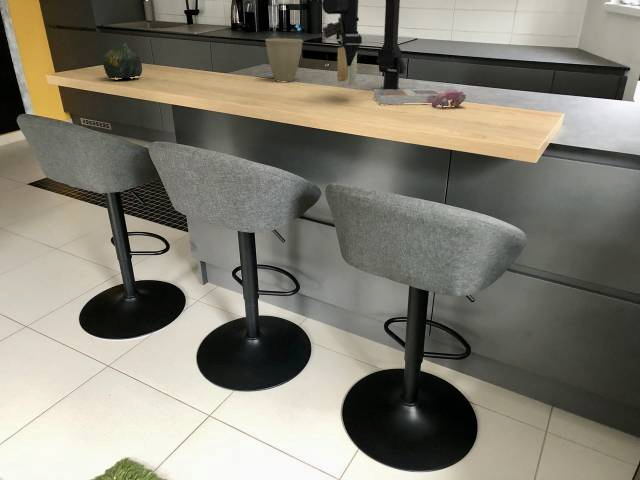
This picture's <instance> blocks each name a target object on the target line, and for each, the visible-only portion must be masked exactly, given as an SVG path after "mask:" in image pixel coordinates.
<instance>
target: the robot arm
mask: <svg viewBox="0 0 640 480" xmlns="http://www.w3.org/2000/svg"><path fill="white" fill-rule="evenodd" d="M400 2H401V0H385V9H384V10H385V12H384V31H383V34H384V35H383V45H382V47H381V48H379V49H378V50H377V59H376V60H377V63H378V71H379V73H384V74H383V86H380V89H401V88H400V87H399V83H400V75H403V74H405V73H406V68H407V67H406V65H405V63H404V61H403V58H402V50H401V48H400V46H399V44H398V41H399V40H398V38H399V23H400V22H399V19H400V4H401V3H400ZM321 4H322V10H323V11H324V12H325V14H327V15H339V17H338V18H337V22H334V23H333V22H330V23H327V24H326V25H325V26H323V27H322V29H321V30H322V32H323V36H324V38H325V39H329V38H331V37H332V36H335V40H336V43H338V45H339V46H340V48H341V47H344V49H345V53H346V61H347V66H351V64H352V61H353V59H354V57H355V55H356V52H357V53H358V50H359V48H360V46H361V44H363V42H362V41H363V37H362V36H361V34H359V31H358V22H360V21H359V20H360V18H359V16H358V15H359V0H323V1H322V2H321Z"/></svg>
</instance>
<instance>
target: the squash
mask: <svg viewBox="0 0 640 480" xmlns="http://www.w3.org/2000/svg"><path fill="white" fill-rule="evenodd" d="M102 58H103V59H102V64H103V69H104V71H105V72H104V73H105V75H106V76H107V78H109V79H110V78H115V77H116V78H124V77H125V78H130V77H135V76H140V77H141V75H142V72H143V65H142V64H143V63H142V60H141V58H140V56H139V54H138V53H137V52H136V51H135V49H134V48H133V47H132V46H131V44H130V43H129V42H127V41H125V42H121V43H118V44H117V45H115V46H113V47H112V48H110V49H108V50H107V51H106V52H105V53H104V56H103V57H102ZM125 78H124V79H125Z"/></svg>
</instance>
